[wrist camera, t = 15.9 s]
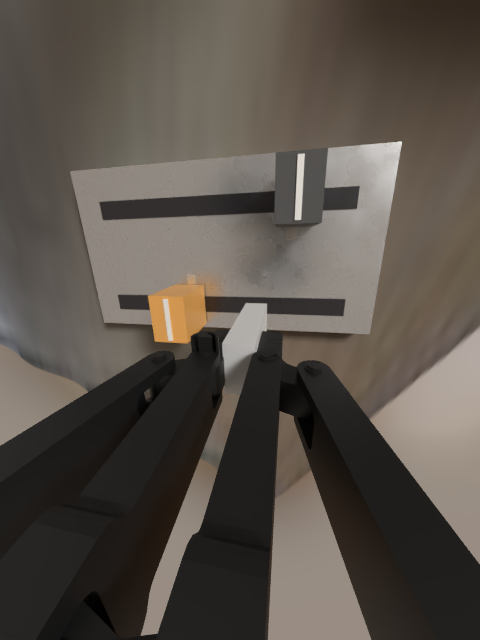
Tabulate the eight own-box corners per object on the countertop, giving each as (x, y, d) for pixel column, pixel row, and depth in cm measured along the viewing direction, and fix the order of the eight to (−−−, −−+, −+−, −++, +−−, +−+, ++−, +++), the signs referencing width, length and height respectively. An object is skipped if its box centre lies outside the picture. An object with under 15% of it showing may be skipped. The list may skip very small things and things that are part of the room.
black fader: (278, 173, 19) (275, 152, 14) (317, 171, 18) (328, 147, 13) (276, 227, 20) (274, 224, 15) (313, 226, 20) (322, 222, 15)
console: (87, 176, 24) (69, 170, 22) (390, 151, 19) (402, 141, 17) (116, 317, 29) (103, 322, 27) (362, 326, 24) (369, 334, 22)
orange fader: (175, 284, 23) (147, 296, 19) (203, 284, 23) (182, 297, 18) (179, 322, 25) (154, 342, 20) (206, 323, 24) (187, 344, 19)
